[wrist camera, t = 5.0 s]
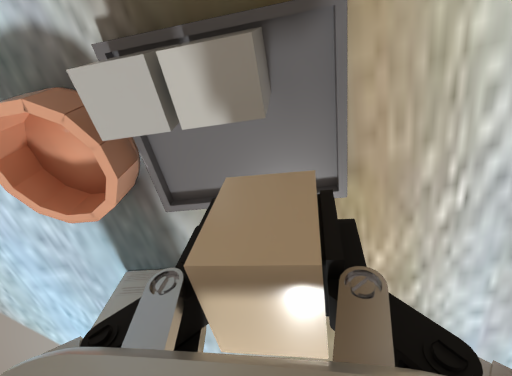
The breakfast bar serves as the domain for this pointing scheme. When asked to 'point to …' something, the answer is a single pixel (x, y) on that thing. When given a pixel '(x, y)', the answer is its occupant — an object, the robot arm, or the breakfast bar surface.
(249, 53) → the grey cube
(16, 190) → the bowl
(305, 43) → the tray
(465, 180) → the breakfast bar surface
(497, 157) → the breakfast bar surface
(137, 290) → the supplement box
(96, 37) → the breakfast bar surface
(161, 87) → the grey cube
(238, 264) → the beige rectangular block
